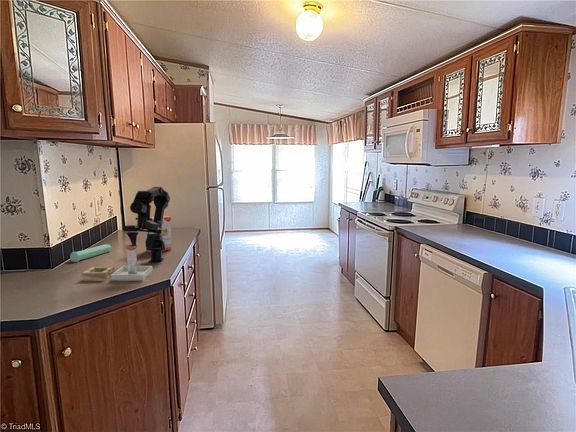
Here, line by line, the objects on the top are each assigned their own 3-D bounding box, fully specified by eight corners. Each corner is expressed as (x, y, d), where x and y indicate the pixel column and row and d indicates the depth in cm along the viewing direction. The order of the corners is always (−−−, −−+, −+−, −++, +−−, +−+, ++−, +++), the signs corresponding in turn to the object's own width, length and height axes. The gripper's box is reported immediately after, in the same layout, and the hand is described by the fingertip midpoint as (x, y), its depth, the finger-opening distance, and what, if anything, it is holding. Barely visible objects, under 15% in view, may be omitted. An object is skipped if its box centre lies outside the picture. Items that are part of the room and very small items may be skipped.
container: (106, 241, 211) (71, 250, 187) (114, 245, 210) (80, 254, 186) (104, 249, 212) (68, 259, 188) (111, 254, 211) (77, 264, 187)
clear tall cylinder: (126, 274, 166) (125, 245, 164) (137, 272, 168) (136, 244, 166) (127, 276, 162) (126, 247, 160) (138, 275, 164) (137, 246, 162)
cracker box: (148, 253, 207) (146, 218, 204) (145, 251, 212) (144, 217, 209) (172, 250, 215) (170, 216, 212) (168, 248, 220) (167, 215, 217)
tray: (123, 271, 172) (123, 265, 171) (152, 271, 173) (152, 265, 172) (111, 281, 158) (110, 274, 157) (143, 281, 159) (142, 274, 158)
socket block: (92, 273, 168) (92, 266, 167) (114, 273, 168) (114, 266, 168) (82, 280, 158) (81, 273, 157) (105, 280, 159) (104, 273, 158)
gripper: (140, 212, 161) (138, 246, 159) (170, 217, 178) (168, 247, 176) (123, 214, 166) (121, 247, 164) (154, 218, 183) (152, 248, 181)
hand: (142, 247), depth 171 cm, fingers open, 9 cm apart
